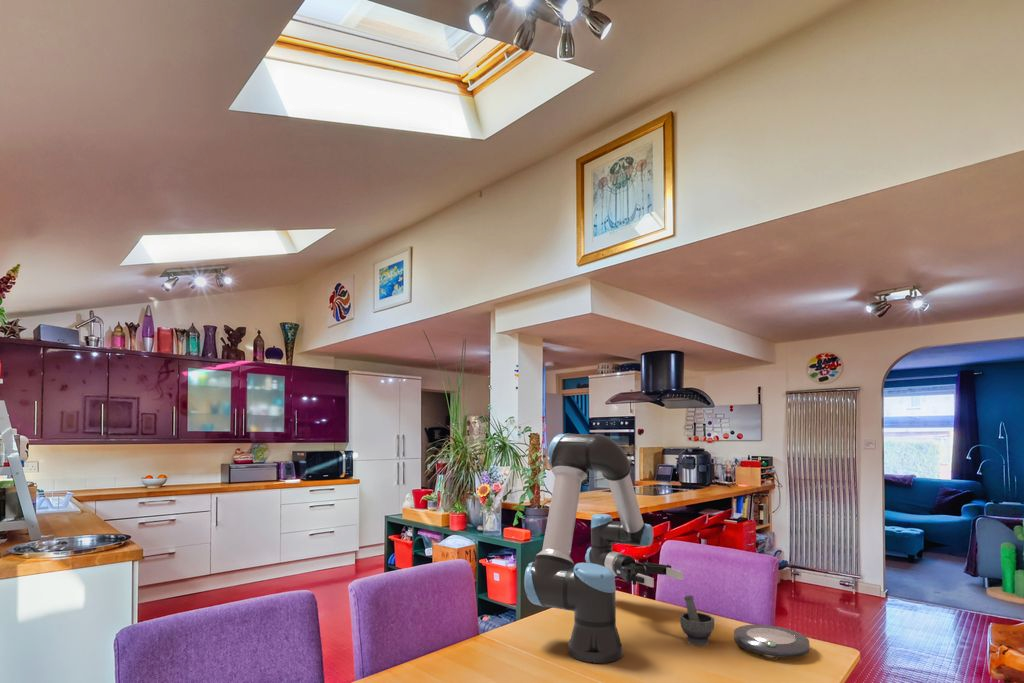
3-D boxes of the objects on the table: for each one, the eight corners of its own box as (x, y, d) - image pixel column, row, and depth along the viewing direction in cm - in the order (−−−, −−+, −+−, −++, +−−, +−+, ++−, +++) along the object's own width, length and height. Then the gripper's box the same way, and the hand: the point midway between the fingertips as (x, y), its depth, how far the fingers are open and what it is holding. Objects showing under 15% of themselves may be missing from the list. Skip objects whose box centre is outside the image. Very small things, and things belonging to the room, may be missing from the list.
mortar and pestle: (720, 647, 175) (719, 603, 176) (690, 648, 173) (689, 605, 175) (702, 633, 186) (700, 592, 187) (673, 635, 184) (672, 594, 186)
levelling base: (783, 668, 160) (782, 650, 160) (719, 645, 176) (719, 628, 177) (824, 653, 170) (823, 636, 171) (761, 632, 187) (760, 617, 188)
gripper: (646, 571, 215) (694, 585, 197) (593, 582, 201) (640, 598, 184) (646, 549, 216) (693, 561, 198) (593, 558, 202) (639, 573, 185)
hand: (668, 579), depth 191 cm, fingers open, 13 cm apart
